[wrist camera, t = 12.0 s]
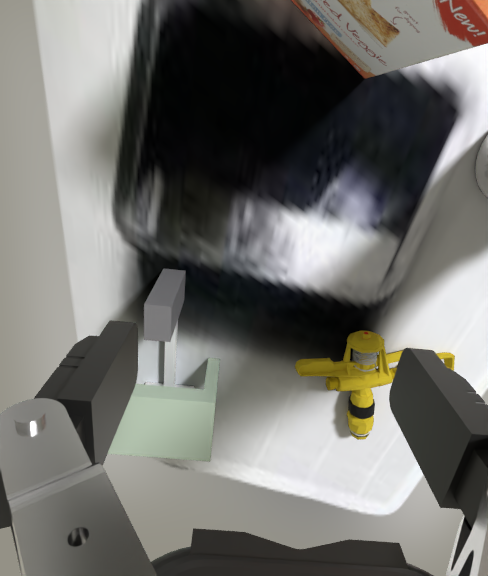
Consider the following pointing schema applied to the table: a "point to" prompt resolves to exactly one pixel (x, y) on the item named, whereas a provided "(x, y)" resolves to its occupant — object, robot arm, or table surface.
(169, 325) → the block
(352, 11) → the cracker box
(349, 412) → the sprinkler
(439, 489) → the robot arm
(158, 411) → the footstool
